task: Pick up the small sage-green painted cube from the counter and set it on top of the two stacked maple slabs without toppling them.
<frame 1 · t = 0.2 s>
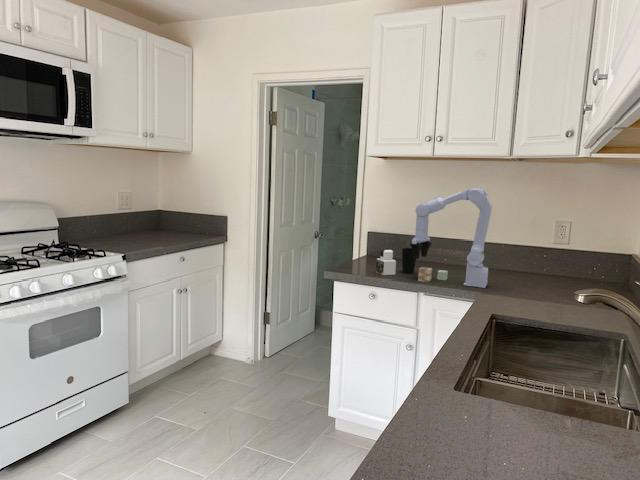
hand: (420, 257, 228), 10 cm above the worktop, tool pointing down, fingers open, 7 cm apart
medicine bottle: (385, 274, 236), on the worktop
upper slab: (425, 274, 223), point 3 cm above the worktop, touching lower slab
lower slab: (424, 281, 224), on the worktop, touching upper slab
green cube: (442, 279, 228), on the worktop
cup: (408, 273, 240), on the worktop
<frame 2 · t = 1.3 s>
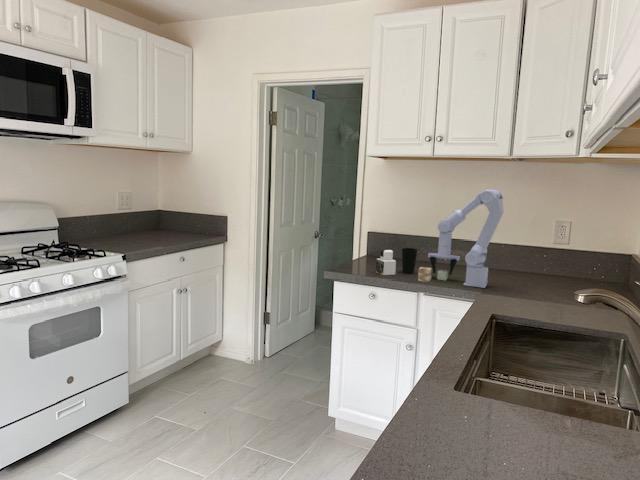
hand: (442, 273, 228), 3 cm above the worktop, tool pointing down, fingers open, 7 cm apart
nothing on the worktop moved.
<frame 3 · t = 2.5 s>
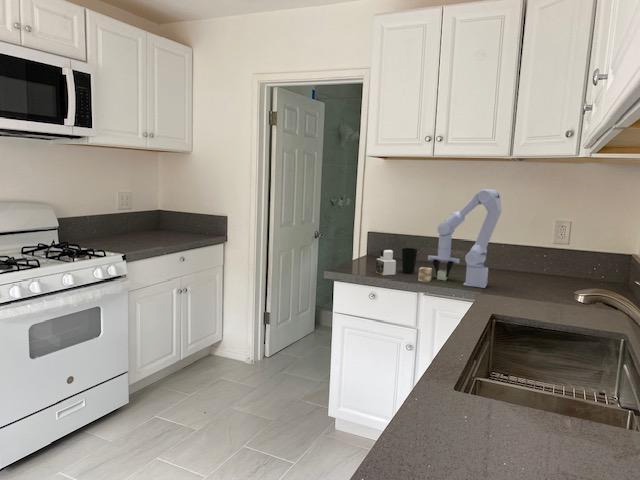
hand: (442, 276, 228), 1 cm above the worktop, tool pointing down, fingers closed on green cube, 4 cm apart
green cube: (442, 279, 228), on the worktop, touching gripper
everything else where it was.
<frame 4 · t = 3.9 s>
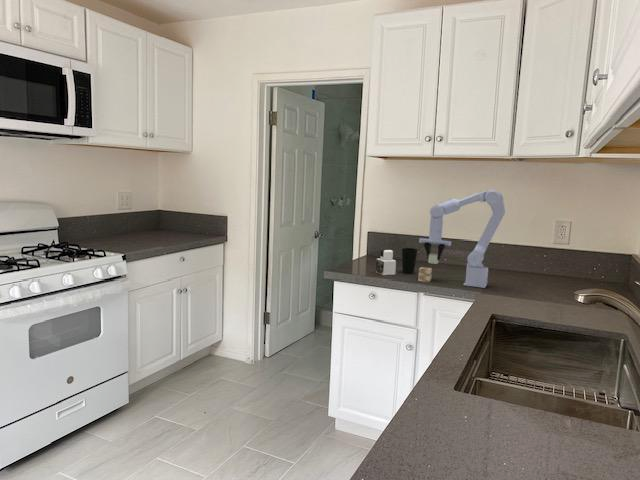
hand: (433, 259, 224), 10 cm above the worktop, tool pointing down, fingers closed on green cube, 4 cm apart
green cube: (433, 262, 224), point 8 cm above the worktop, touching gripper
everything else where it was.
when the fingers open (8 cm above the worktop, at t = 5.4 s): green cube stays where it is, resting on upper slab.
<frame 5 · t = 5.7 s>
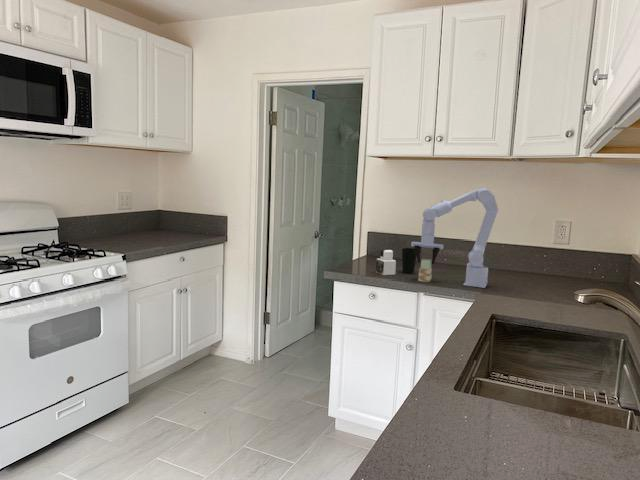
hand: (425, 262, 222), 8 cm above the worktop, tool pointing down, fingers open, 6 cm apart
upper slab: (425, 274, 223), point 3 cm above the worktop, touching green cube, lower slab
green cube: (425, 268, 223), point 6 cm above the worktop, touching upper slab
everything else where it was.
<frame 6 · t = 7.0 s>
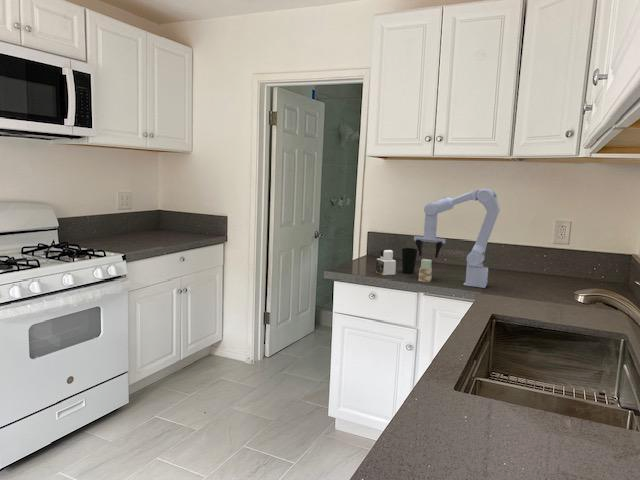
hand: (428, 256, 227), 10 cm above the worktop, tool pointing down, fingers open, 7 cm apart
nothing on the worktop moved.
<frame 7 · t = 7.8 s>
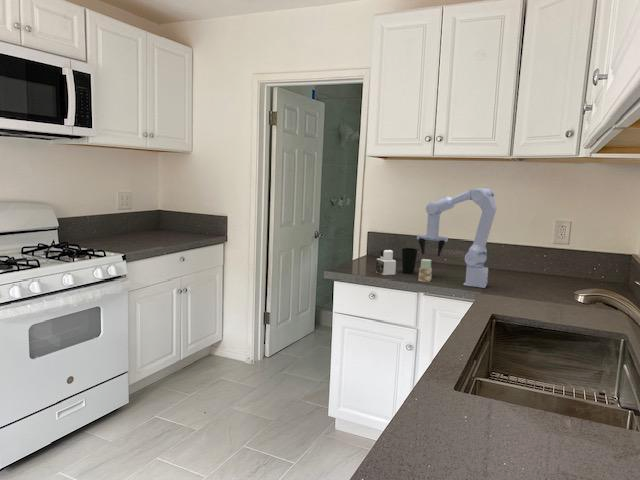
hand: (430, 254, 233), 10 cm above the worktop, tool pointing down, fingers open, 7 cm apart
nothing on the worktop moved.
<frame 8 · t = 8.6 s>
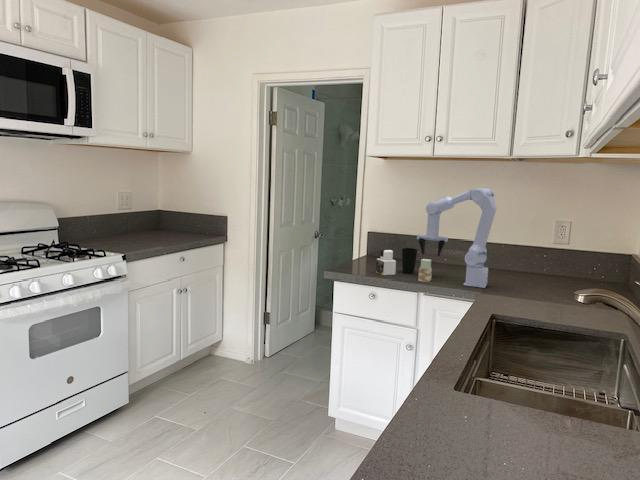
hand: (430, 254, 233), 10 cm above the worktop, tool pointing down, fingers open, 7 cm apart
nothing on the worktop moved.
at the end: green cube 0.1 cm off-centre on the upper slab, point 3.0 cm above the upper slab's base; upper slab tilted 0°; green cube tilted 0° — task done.
